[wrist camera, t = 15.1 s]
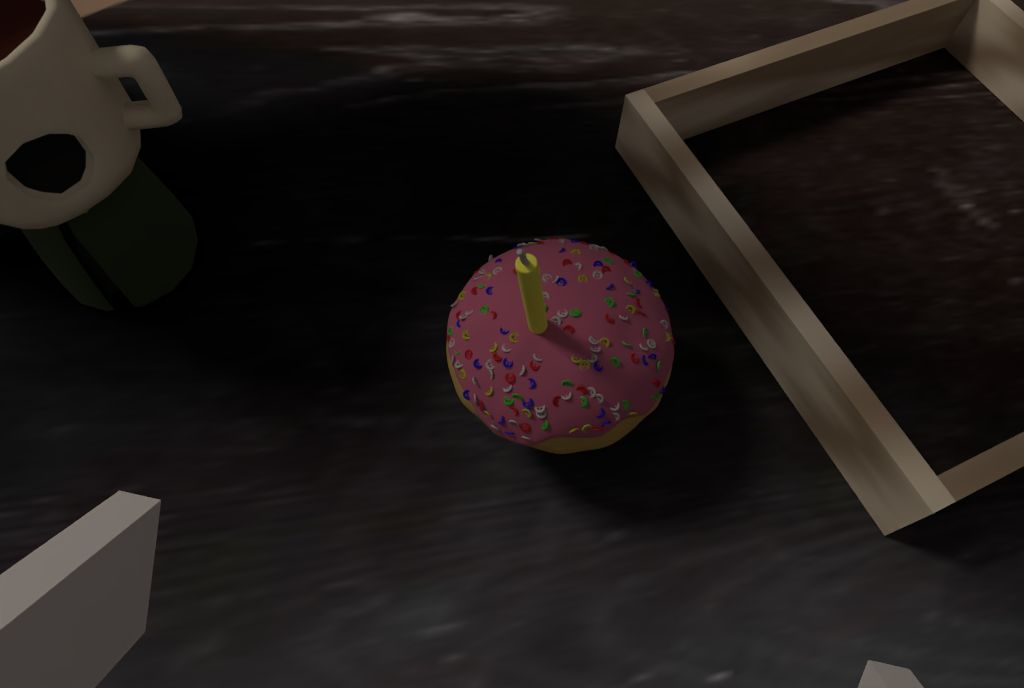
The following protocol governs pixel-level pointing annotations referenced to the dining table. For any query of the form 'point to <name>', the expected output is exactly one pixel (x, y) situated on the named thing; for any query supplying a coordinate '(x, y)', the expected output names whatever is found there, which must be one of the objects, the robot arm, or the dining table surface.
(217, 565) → the dining table surface
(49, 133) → the character mug
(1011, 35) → the birch box
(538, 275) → the cupcake
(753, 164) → the dining table surface
